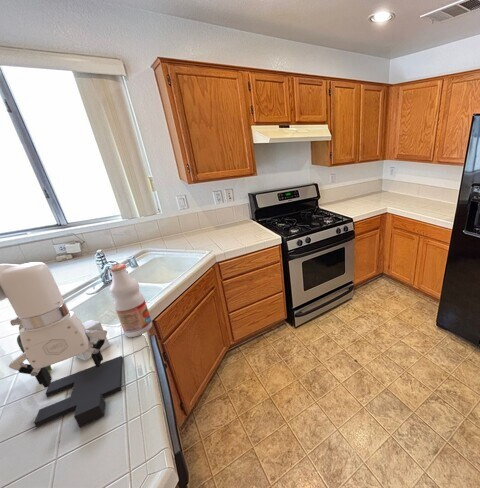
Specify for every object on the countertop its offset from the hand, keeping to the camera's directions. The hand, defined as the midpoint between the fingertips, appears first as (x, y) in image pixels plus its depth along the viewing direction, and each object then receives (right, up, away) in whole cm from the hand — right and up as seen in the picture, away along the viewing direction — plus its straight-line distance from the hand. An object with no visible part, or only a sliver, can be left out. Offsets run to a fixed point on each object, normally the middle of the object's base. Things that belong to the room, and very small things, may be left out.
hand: (74, 373), depth 66 cm
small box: (-21, -7, +29) cm, 36 cm away
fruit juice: (-12, -2, +40) cm, 41 cm away
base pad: (-9, -11, +13) cm, 20 cm away
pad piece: (0, -14, +5) cm, 14 cm away
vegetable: (-29, -10, +20) cm, 37 cm away
